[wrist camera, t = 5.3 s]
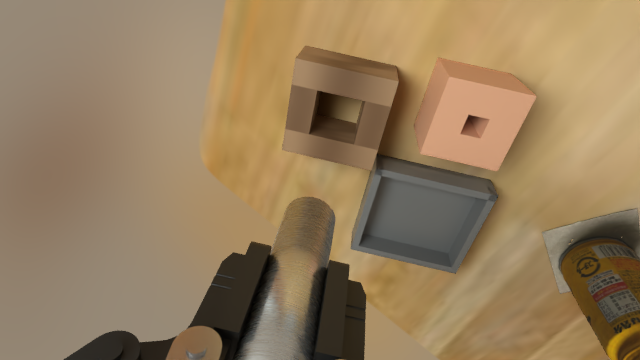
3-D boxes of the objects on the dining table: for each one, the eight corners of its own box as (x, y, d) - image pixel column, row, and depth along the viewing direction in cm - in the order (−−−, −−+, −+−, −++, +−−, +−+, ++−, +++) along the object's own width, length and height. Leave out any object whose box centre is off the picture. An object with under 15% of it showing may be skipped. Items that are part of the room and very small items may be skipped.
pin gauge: (340, 203, 15) (294, 513, 7) (329, 242, 16) (279, 547, 8) (288, 191, 15) (179, 485, 7) (281, 231, 16) (181, 523, 8)
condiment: (559, 292, 37) (628, 419, 27) (541, 230, 33) (612, 350, 23) (644, 274, 34) (756, 407, 24) (634, 206, 31) (760, 328, 21)
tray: (490, 180, 31) (498, 196, 29) (450, 255, 36) (455, 273, 34) (376, 153, 31) (376, 168, 29) (352, 232, 36) (350, 249, 34)
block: (511, 74, 27) (537, 96, 22) (480, 140, 30) (497, 171, 25) (437, 57, 27) (449, 76, 23) (414, 125, 30) (419, 153, 26)
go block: (396, 66, 27) (398, 81, 24) (372, 147, 31) (371, 170, 28) (305, 45, 28) (295, 58, 24) (292, 129, 31) (282, 150, 28)
